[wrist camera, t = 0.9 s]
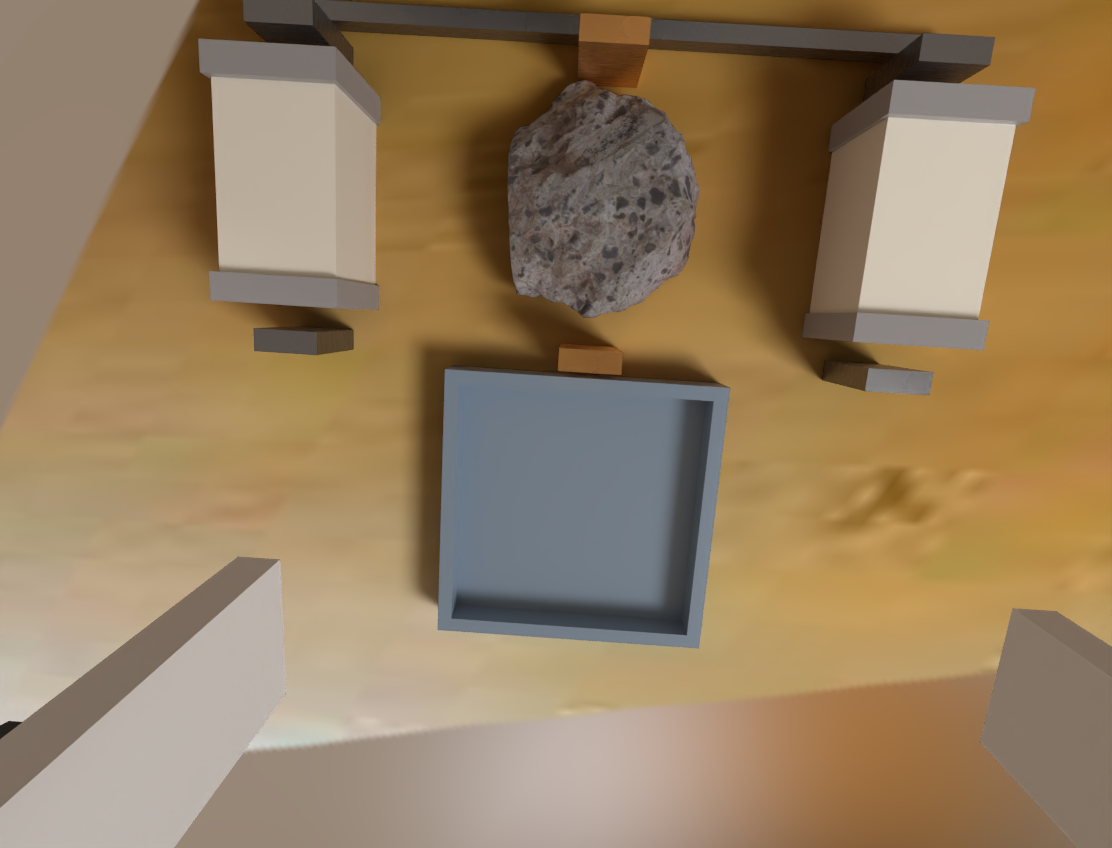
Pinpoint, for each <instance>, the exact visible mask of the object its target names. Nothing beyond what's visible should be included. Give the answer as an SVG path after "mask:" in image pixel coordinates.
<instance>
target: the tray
mask: <svg viewBox="0 0 1112 848" xmlns="http://www.w3.org/2000/svg"><path fill="white" fill-rule="evenodd" d="M729 392H730V388H729V387H727V386H725V385H722V384H720V383H709V382H694V381H678V380H663V379H648V378H633V377H617V376H602V375H587V374H572V373H557V372H541V371H526V370H511V369H496V368H480V367H465V366H451V367H449V368H446V369H445V384H444V419H443V455H442V491H441V527H440V563H439V598H438V630H447V631H461V632H475V633H489V634H503V635H517V636H531V637H545V638H559V639H574V640H588V641H602V642H616V643H630V644H644V645H658V646H672V647H686V648H699V643H700V635H701V627H702V618H703V610H704V602H705V593H706V585H707V576H708V568H709V560H710V551H711V543H712V535H713V526H714V518H715V509H716V501H717V493H718V484H719V476H720V468H721V459H722V451H723V443H724V434H725V426H726V417H727V409H728V401H729Z"/></svg>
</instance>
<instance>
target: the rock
mask: <svg viewBox="0 0 1112 848" xmlns="http://www.w3.org/2000/svg"><path fill="white" fill-rule="evenodd" d="M699 191H700V188H699V186H698V184H697V182H696V174H695V171H694V168H693V165H692V158H690V156H689V154H688V152H687V151H686V148H685V142H684V140H683V137H682V134H681V133H680V132H678V131H677V130H676V129H675V128H674V127H673V125H672V124H671V123H670V121H669V119H668V117H667V116H666V114H665V112H663V111H660V110H658V109H656V108H655V107H654V106H653V105H652V104H651V103H650V101H647V100H646V99H645V98H640V97H638V96H632V95H627V94H624V95H620V96H619V95H617V94H614V93H612V92H610V91H608V90H605V89H603V88H598V87H597V86H596V85H595V84H594V83H592V82H590V81H589V80H582V81H578V82H575V83H573V84H570V85H568V86H567V87H566V88H565V89H564V90H563V91H562V93H561V94H560V95H559V96H558V97H557V98H555V99H554V101H553V104H552V106H551V108H550V110H549V111H547V112H545V113H544V114H543V115H541V116H540V117H539V118H538V119H536V120H535V121H534V122H532V123H531V124H530V125H527V126H522V127H519V128H518V129H517V130H516V131H515V134H514V137H513V139H512V142H511V145H510V150H509V155H508V186H507V198H508V211H509V219H508V222H509V229H510V232H509V242H510V258H511V269H512V277H513V282H514V285H515V288H516V292H517V294H519V295H527V296H529V297H533V298H535V297H538V296H540V295H542V296H543V297H544V298H546V299H548V300H550V301H551V302H561V303H564V304H566V305H568V306H569V307H571V308H572V309H574V310H575V311H577V312H578V313H580V315H581V316H582V317H583V318H593V317H597V316H599V315H600V314H605V313H609V312H619V311H622V310H625V309H627V308H628V307H630V306H632V305H635V304H639V303H641V302H643V301H644V300H645V298H646V297H647V296H648V295H649V294H650V293H652V292H653V291H655V290H656V289H657V288H658V287H659V286H660V285H661V284H662V283H663V282H664V281H666V280H667V279H669V278H671V277H674V276H677V275H678V274H679V273H680V272H681V271H682V269H683V268H684V266H685V264H686V262H687V260H688V255H689V250H690V245H691V241H692V239H693V237H694V232H695V224H694V219H695V218H696V204H697V200H698V197H699Z"/></svg>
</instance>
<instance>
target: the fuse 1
mask: <svg viewBox="0 0 1112 848" xmlns="http://www.w3.org/2000/svg"><path fill="white" fill-rule="evenodd" d="M198 44H199V66H200V73H202V74H203V75H205V76H206V77H208V78H209V79H211V88H212V111H213V135H214V158H215V182H216V205H217V229H218V252H219V272H217V271H209V284H210V300H214V301H230V302H245V303H261V304H276V305H291V306H307V307H322V308H338V309H367V310H379V286H377V285H375V245H376V125H380V97H379V96H378V95H377V94H376V92H375V91H374V90H373V89H372V88H371V87H370V85H369V84H368V83H367V82H366V81H365V80H364V79H363V77H362V76H361V75H360V74H359V73H358V72H357V71H356V69H355V68H354V67H353V66H352V65H351V64H350V62H349V61H348V60H347V59H346V58H345V57H344V56H343V54H342V53H341V52H340V51H339V50H338V49H337V48H336V47H333V46H316V45H299V44H282V43H265V42H248V41H231V40H214V39H198Z"/></svg>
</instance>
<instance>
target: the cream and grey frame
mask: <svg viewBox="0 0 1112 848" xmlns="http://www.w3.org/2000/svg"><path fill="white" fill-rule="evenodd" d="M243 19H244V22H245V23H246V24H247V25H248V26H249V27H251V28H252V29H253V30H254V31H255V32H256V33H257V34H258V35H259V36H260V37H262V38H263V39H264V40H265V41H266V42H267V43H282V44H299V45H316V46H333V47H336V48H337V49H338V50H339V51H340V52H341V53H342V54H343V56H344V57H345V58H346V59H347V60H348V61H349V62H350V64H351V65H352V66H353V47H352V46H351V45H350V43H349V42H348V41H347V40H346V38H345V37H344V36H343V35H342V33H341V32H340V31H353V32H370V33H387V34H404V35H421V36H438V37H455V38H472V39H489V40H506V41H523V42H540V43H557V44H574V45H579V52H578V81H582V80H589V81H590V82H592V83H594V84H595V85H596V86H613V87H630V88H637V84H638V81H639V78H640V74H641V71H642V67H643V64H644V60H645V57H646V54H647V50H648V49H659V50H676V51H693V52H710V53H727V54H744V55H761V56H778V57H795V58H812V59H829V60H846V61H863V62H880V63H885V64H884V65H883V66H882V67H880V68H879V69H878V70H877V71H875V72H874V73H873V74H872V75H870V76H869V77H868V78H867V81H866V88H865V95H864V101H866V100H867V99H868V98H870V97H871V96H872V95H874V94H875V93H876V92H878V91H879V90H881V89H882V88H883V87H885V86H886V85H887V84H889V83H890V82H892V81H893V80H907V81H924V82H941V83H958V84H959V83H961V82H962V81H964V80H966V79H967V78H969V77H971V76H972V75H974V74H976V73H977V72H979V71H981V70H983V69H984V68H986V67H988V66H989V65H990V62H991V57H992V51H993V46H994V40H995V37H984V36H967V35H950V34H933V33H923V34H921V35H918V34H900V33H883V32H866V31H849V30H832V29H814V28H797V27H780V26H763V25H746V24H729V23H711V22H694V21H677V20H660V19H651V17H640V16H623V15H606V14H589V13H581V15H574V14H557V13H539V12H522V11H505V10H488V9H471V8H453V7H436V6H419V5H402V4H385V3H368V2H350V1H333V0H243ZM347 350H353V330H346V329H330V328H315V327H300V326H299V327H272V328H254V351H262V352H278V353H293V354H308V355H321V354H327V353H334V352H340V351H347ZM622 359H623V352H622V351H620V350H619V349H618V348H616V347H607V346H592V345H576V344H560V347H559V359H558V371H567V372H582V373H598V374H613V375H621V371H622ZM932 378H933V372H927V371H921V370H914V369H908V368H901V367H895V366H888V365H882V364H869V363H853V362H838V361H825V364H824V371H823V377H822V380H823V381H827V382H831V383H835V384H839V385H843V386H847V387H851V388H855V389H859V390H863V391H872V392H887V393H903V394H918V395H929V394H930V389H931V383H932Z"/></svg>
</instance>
